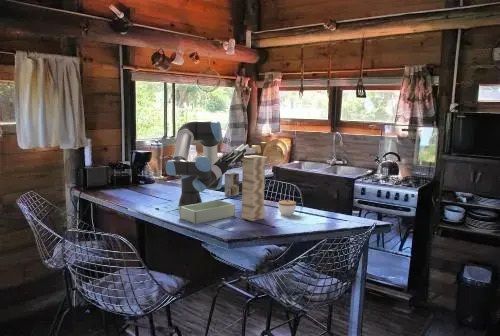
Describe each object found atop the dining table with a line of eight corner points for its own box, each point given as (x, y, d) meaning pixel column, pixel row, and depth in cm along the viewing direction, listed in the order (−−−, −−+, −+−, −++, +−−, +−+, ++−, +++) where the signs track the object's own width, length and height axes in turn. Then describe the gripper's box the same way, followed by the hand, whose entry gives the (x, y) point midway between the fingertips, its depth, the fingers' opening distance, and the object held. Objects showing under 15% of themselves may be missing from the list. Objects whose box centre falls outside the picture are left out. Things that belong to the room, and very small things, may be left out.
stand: (252, 221, 232) (253, 158, 227) (238, 217, 241) (239, 156, 236) (267, 218, 240) (268, 157, 235) (253, 214, 249) (254, 155, 244)
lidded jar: (294, 212, 255) (295, 197, 254) (296, 217, 245) (296, 201, 244) (277, 212, 256) (278, 197, 254) (278, 216, 245) (278, 201, 244)
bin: (194, 224, 226) (194, 211, 225) (179, 218, 236) (179, 206, 235) (235, 215, 245) (235, 204, 244) (219, 210, 256) (219, 199, 255)
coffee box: (232, 193, 310) (232, 172, 307) (239, 194, 306) (239, 173, 303) (224, 195, 303) (224, 173, 301) (230, 196, 299) (230, 174, 296)
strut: (238, 154, 224) (238, 147, 223) (232, 153, 228) (232, 146, 227) (262, 152, 236) (262, 145, 236) (256, 152, 240) (256, 145, 239)
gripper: (210, 173, 226) (238, 150, 238) (229, 177, 214) (258, 153, 226) (205, 162, 222) (234, 139, 234) (224, 166, 211) (253, 141, 223)
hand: (246, 146), depth 230 cm, fingers closed on strut, 3 cm apart
